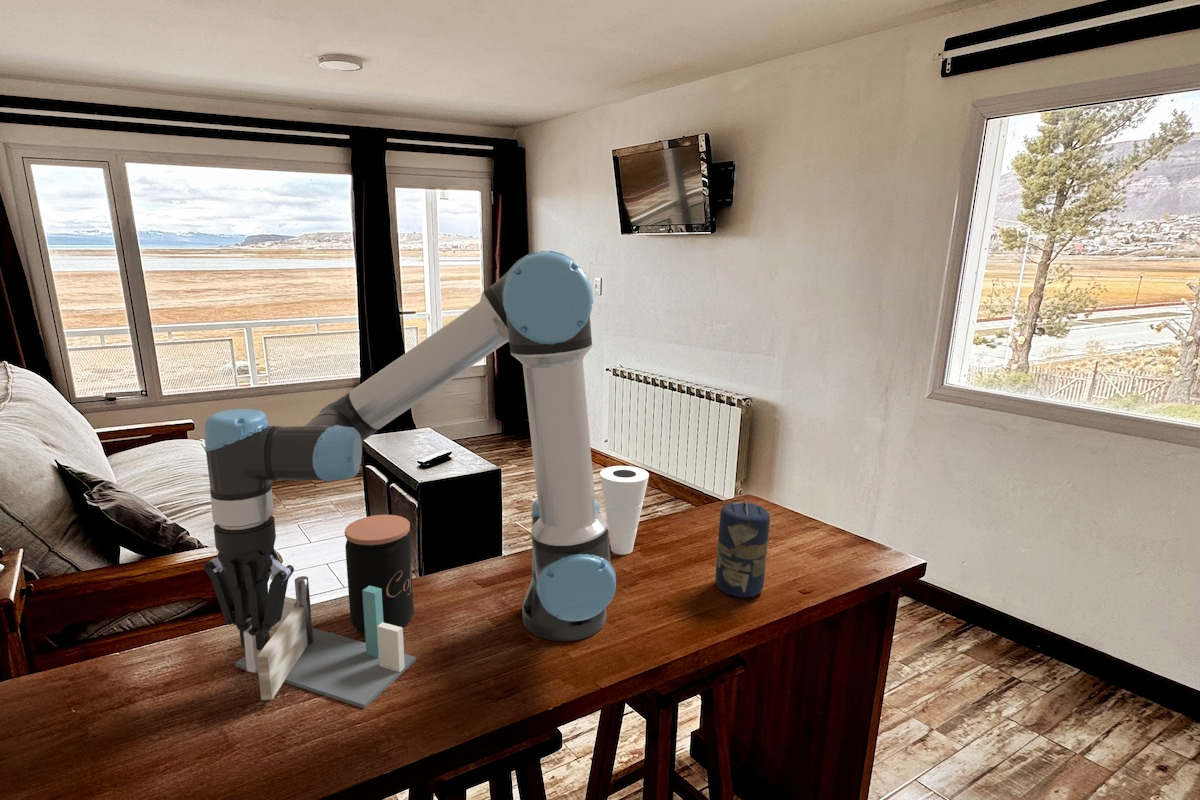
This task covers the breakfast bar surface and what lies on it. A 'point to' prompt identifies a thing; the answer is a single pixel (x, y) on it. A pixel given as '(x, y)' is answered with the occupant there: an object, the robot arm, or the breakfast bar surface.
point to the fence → (387, 640)
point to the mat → (340, 669)
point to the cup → (623, 504)
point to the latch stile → (372, 618)
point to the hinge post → (304, 603)
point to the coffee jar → (380, 567)
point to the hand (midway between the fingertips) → (257, 666)
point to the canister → (742, 549)
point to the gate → (282, 653)
